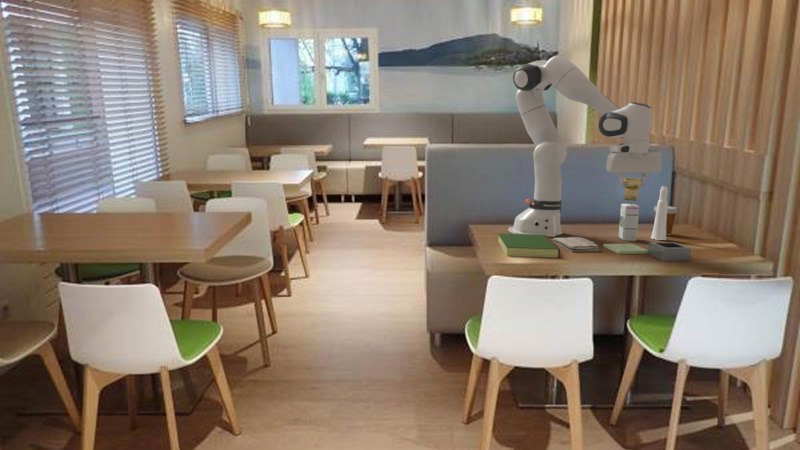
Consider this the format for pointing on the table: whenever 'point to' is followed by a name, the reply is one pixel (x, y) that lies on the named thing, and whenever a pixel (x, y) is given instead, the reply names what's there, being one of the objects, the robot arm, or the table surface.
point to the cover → (632, 188)
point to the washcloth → (576, 244)
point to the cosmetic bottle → (661, 216)
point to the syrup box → (628, 222)
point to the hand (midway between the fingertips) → (631, 185)
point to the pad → (626, 248)
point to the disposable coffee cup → (669, 218)
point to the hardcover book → (528, 245)
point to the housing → (669, 251)
